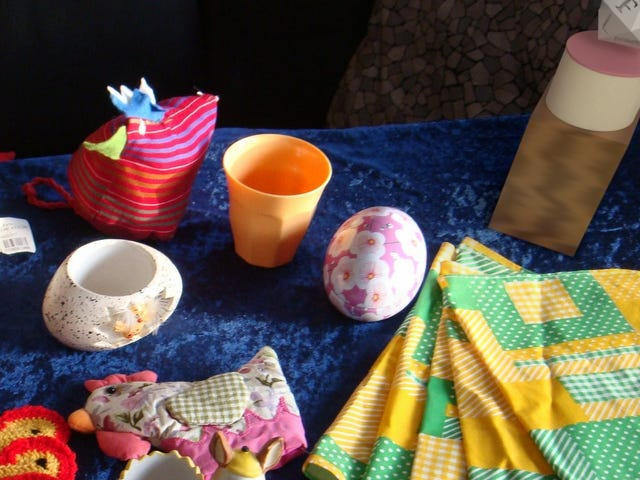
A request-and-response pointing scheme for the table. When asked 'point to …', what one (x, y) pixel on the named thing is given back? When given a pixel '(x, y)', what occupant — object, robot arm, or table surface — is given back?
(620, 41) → the die
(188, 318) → the table surface
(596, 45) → the yogurt
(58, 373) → the table surface
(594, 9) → the robot arm
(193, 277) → the table surface
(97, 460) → the table surface
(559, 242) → the brown piece
